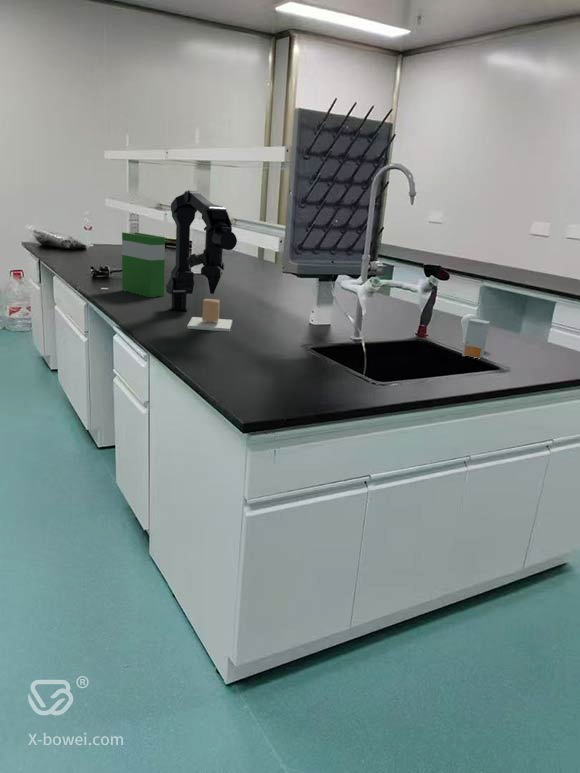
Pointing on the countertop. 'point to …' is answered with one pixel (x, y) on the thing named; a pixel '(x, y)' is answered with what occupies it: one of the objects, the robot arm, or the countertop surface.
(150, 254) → the hardback book
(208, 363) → the countertop surface
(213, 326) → the post stand
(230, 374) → the countertop surface
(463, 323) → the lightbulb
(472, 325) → the skincare box
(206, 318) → the tan wooden brick
